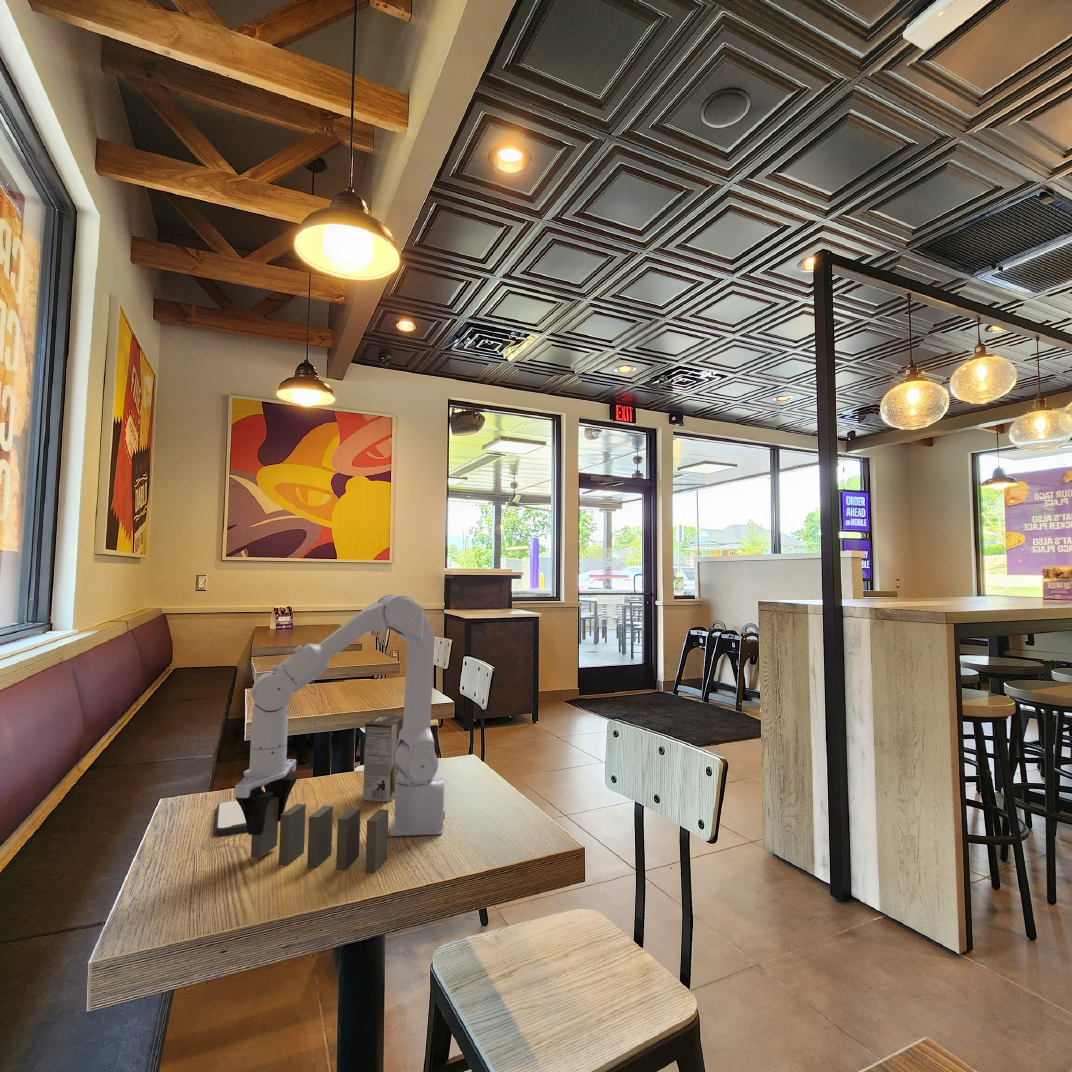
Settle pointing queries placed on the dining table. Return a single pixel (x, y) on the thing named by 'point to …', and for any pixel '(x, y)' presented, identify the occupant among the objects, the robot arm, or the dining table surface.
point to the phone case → (230, 819)
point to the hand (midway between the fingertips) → (265, 827)
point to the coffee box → (381, 757)
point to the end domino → (267, 831)
